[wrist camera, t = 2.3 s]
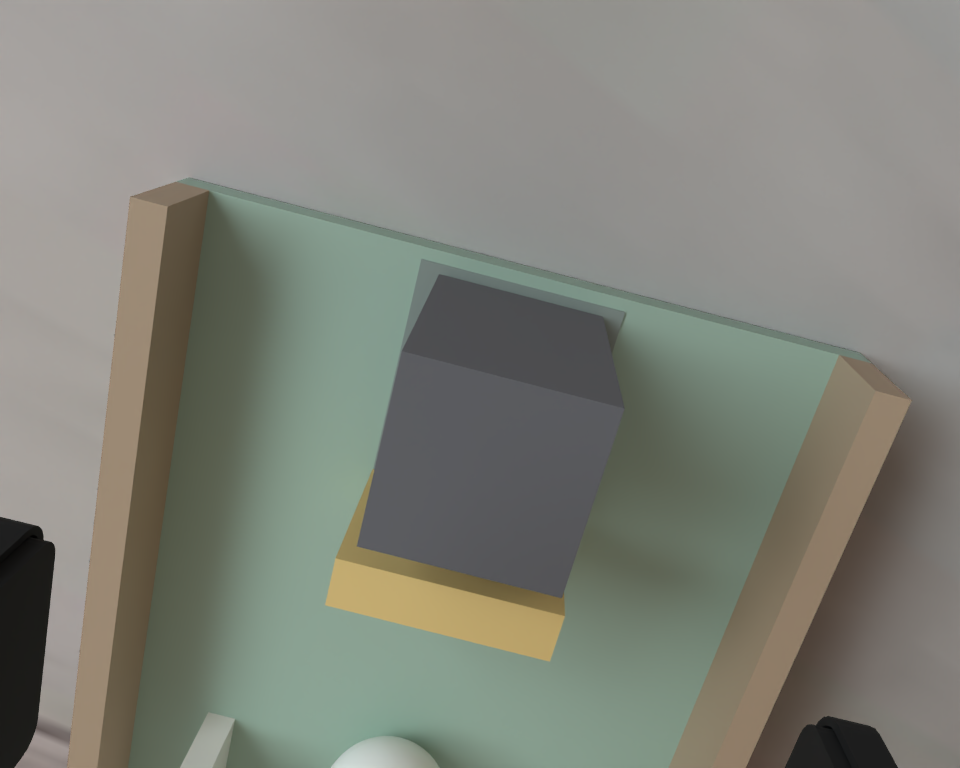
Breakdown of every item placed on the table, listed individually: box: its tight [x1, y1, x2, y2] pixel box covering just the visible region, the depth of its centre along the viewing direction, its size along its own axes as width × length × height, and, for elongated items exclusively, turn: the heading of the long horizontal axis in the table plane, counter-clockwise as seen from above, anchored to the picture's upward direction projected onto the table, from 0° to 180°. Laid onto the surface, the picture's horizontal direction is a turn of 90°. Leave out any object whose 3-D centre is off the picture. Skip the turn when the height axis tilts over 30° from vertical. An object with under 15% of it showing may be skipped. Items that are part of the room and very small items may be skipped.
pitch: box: [67, 178, 912, 768], centre depth 24 cm, size 17×20×3 cm
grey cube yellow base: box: [325, 274, 625, 662], centre depth 20 cm, size 5×7×6 cm
